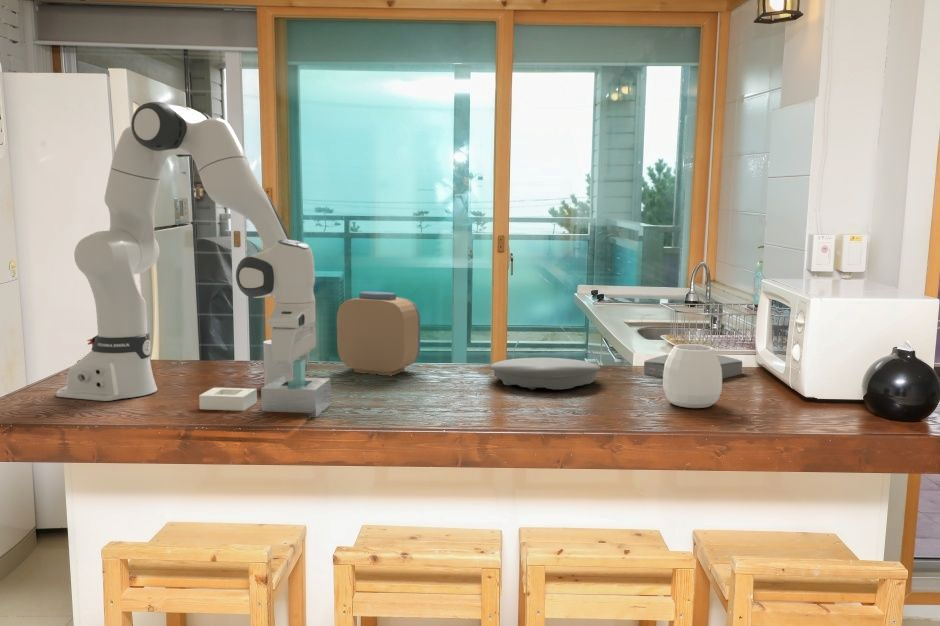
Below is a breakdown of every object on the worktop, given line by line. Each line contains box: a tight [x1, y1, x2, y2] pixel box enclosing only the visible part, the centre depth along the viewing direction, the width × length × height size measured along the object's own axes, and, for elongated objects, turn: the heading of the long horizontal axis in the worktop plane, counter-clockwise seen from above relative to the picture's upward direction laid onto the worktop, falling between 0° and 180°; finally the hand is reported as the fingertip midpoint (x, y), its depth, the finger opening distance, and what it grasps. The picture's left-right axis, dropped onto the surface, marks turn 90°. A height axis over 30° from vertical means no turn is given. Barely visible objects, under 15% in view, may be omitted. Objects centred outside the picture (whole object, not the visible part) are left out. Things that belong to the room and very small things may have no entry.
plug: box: [288, 359, 306, 386], centre depth 191 cm, size 3×3×10 cm
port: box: [260, 377, 332, 418], centre depth 191 cm, size 12×12×6 cm
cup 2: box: [662, 343, 723, 409], centre depth 197 cm, size 13×13×14 cm
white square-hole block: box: [198, 387, 258, 412], centre depth 191 cm, size 10×8×4 cm
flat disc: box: [490, 357, 601, 391], centre depth 221 cm, size 28×28×4 cm
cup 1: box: [263, 339, 299, 386], centre depth 211 cm, size 8×8×12 cm
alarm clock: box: [336, 291, 421, 377], centre depth 232 cm, size 21×10×22 cm, turn 66°
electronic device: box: [643, 354, 743, 379], centre depth 234 cm, size 19×22×5 cm
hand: (296, 376), depth 191 cm, fingers open, 8 cm apart
